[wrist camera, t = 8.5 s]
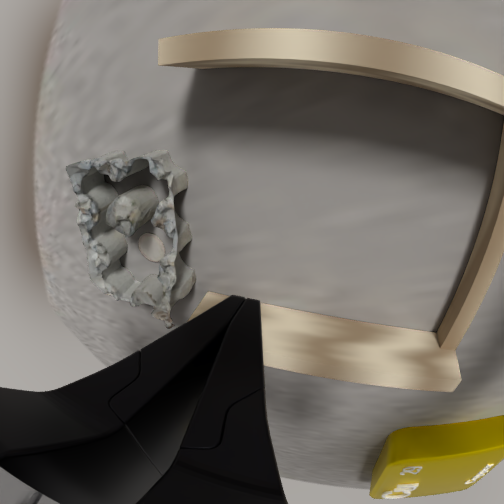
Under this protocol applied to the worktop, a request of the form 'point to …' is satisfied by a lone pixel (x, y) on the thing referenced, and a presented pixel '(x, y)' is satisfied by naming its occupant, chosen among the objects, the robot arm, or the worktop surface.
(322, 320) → the open wooden frame
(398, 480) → the element tile
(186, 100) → the worktop surface
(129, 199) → the egg carton
